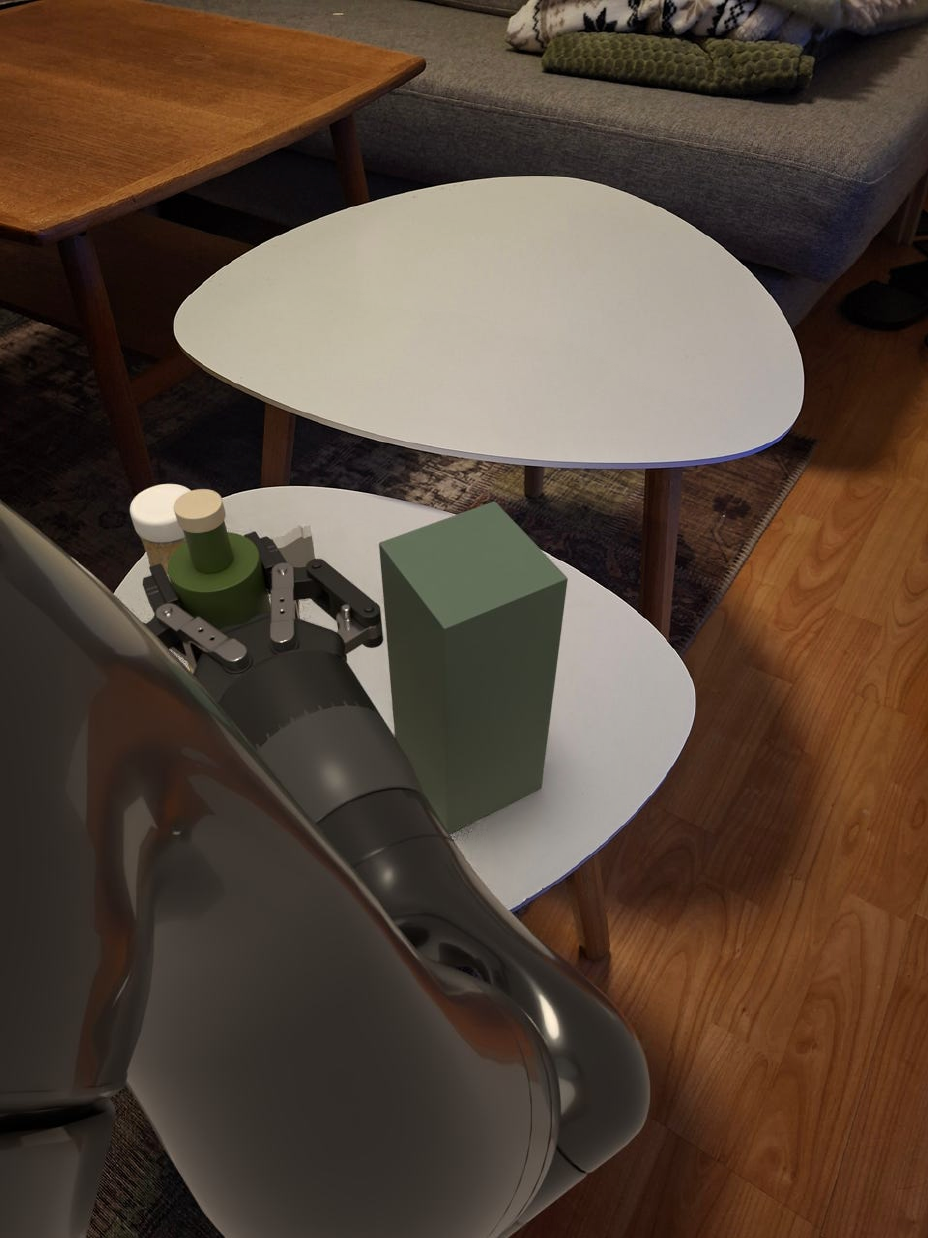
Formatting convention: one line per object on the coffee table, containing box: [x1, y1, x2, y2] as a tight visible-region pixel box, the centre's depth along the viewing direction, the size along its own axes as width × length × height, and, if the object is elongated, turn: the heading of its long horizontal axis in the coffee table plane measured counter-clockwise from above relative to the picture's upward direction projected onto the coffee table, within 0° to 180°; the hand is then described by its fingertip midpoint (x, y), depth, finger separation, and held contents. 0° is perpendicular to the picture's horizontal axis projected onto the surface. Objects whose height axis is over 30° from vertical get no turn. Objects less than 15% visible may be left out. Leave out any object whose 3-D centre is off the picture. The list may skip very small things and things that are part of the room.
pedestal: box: [378, 501, 569, 835], centre depth 55 cm, size 8×8×20 cm
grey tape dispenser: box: [271, 524, 316, 567], centre depth 73 cm, size 6×1×10 cm
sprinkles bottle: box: [129, 483, 192, 582], centre depth 66 cm, size 5×5×14 cm
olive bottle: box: [168, 488, 271, 630], centre depth 51 cm, size 5×5×13 cm
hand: (205, 560), depth 52 cm, fingers closed on olive bottle, 5 cm apart
